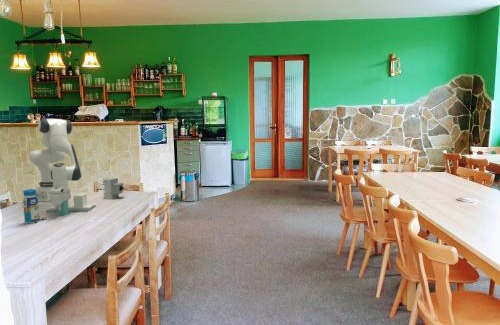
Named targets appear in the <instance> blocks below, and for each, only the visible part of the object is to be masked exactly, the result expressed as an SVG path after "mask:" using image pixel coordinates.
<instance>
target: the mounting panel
mask: <svg viewBox="0 0 500 325" xmlns="http://www.w3.org/2000/svg"><path fill="white" fill-rule="evenodd" d="M96 206H97V205H96V204H88V198H87V193H77V194H75V195H73V204H70V205H69V204H68V210H69V213H76V212H79V213H82V212H83V213H85V212H89V211H91V210H93V209H94V208H96ZM45 212H46V213H57V206H56V205H52V206H50V207H47V210H46V211H45Z"/></svg>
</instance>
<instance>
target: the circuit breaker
mask: <svg viewBox="0 0 500 325" xmlns="http://www.w3.org/2000/svg"><path fill="white" fill-rule="evenodd" d="M102 185H103V186H104V188H103V189H104V192H103V199H105V198H106V199H107V200H114V197H115V199H117V198H119V197H120V196H119V195H120V194H122V193H124V189H125V188H124V182H119V180H118V177H107V178H104V179H102ZM106 199H105V200H106Z"/></svg>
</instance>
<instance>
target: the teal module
mask: <svg viewBox="0 0 500 325" xmlns="http://www.w3.org/2000/svg"><path fill="white" fill-rule="evenodd" d="M68 205H69V200H66V201H64V202H63V203H61V207H62V210H61V211H59V210H58V207H57V212H56V215H57V216H67V215H69V213H70V212H69V210H68ZM56 206H57V205H56Z"/></svg>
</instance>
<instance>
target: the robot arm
mask: <svg viewBox="0 0 500 325" xmlns="http://www.w3.org/2000/svg"><path fill="white" fill-rule="evenodd" d="M73 127H74V126H73V122H71V120H67V119H61V118H45V117H44V118H41V119H40V120H39V121H38V124H37V128H38V131H39V133H42V139H41V143H42V145H43V146H44V147H45V148H44V149H43V148H42V149H35V150H32V151H30V152H29V154H28V160H29V162H30V163H31V164H33V165H34V166H36V167H37V169H38V170H39V171H40V176H41V181H40V182H39V183H38V185H39V187H38V188H36V189H35V190H36V195H35V196H36V197H37V198H38V203H39V202H41V203H43V202H45V203H46V202H51V204H52V206H55V205H57V207H58V210H59V211H61V210H62V207H61V203H63V202H64V201H66V200H68V201H69V200H71V198H72V194H71V190H70V188H69V182H70V181H71V182H74V181H79V180H80V179H82V176H83V173H82V169H81V166H80V164H79V160H78V157H77V152H76V149H75V147H74V144H72V143H70V142H69V138H68V135H70V134H71V133H72V131H73ZM66 154H67V155H69V157H70V160H71V166H70V165H69V166H66V163H64V160H65V159H66ZM52 163H53V165H52V167H50V165H49V164H52ZM68 181H69V182H68Z"/></svg>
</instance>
